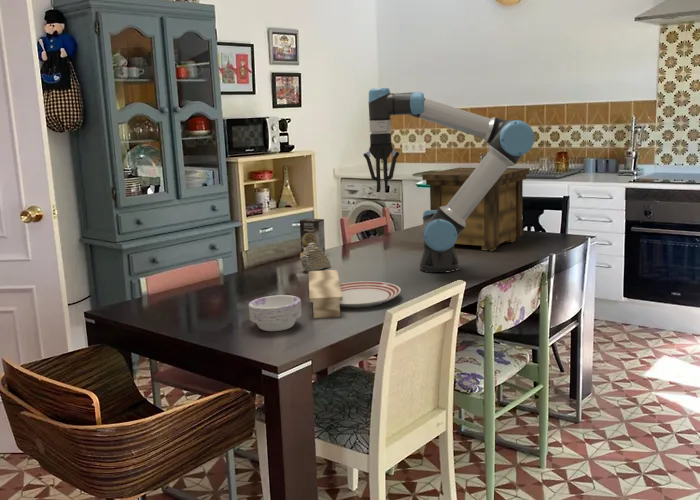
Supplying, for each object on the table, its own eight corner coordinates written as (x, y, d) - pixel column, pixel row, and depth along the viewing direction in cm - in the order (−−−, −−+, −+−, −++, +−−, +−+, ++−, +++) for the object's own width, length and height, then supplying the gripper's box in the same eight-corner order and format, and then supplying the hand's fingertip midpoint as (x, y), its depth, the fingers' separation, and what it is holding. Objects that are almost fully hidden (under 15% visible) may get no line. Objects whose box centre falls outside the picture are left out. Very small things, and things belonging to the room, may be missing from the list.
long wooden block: (337, 286, 246) (337, 269, 245) (343, 316, 210) (342, 296, 209) (309, 288, 246) (308, 271, 245) (310, 318, 210) (309, 298, 208)
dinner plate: (339, 317, 210) (339, 306, 210) (304, 297, 234) (304, 288, 234) (416, 303, 222) (416, 293, 221) (376, 286, 246) (375, 277, 246)
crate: (497, 254, 289) (497, 175, 283) (424, 247, 309) (422, 174, 303) (529, 239, 317) (529, 168, 311) (460, 234, 337) (459, 167, 331)
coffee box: (300, 257, 301) (298, 220, 298) (307, 254, 307) (305, 218, 304) (320, 257, 298) (318, 220, 295) (326, 254, 304) (324, 218, 300)
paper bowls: (254, 320, 211) (253, 294, 209) (304, 318, 210) (303, 293, 208) (245, 336, 196) (243, 308, 194) (299, 334, 195) (298, 307, 194)
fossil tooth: (333, 270, 278) (306, 274, 267) (322, 267, 283) (295, 271, 272) (335, 242, 277) (307, 244, 266) (324, 240, 281) (296, 242, 270)
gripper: (363, 134, 241) (365, 201, 246) (400, 132, 242) (402, 199, 247) (361, 133, 249) (363, 198, 253) (397, 131, 250) (399, 197, 254)
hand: (382, 199), depth 250 cm, fingers closed
